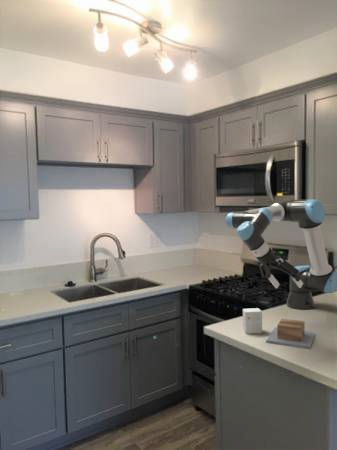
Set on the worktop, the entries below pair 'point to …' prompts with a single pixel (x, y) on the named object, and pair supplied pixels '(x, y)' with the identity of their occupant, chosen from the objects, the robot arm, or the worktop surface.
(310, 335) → the base board
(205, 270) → the worktop surface
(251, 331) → the small box
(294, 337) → the walnut plinth
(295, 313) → the worktop surface
